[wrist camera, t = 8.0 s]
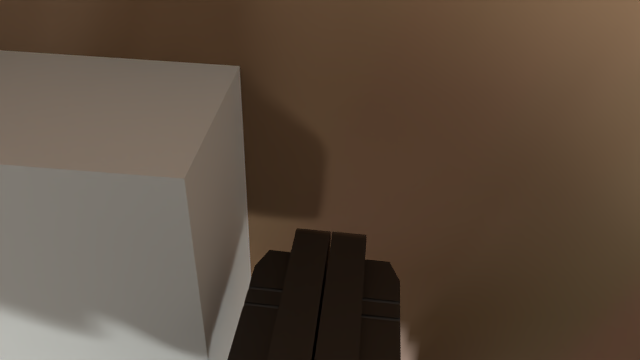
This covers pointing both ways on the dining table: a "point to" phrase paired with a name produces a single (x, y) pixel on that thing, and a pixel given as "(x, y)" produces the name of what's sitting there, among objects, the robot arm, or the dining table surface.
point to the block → (120, 208)
